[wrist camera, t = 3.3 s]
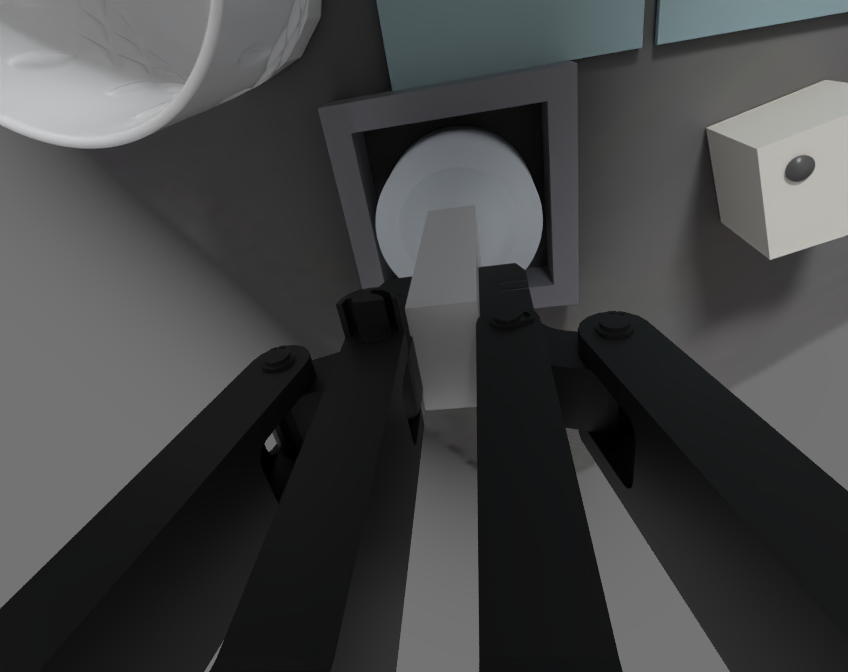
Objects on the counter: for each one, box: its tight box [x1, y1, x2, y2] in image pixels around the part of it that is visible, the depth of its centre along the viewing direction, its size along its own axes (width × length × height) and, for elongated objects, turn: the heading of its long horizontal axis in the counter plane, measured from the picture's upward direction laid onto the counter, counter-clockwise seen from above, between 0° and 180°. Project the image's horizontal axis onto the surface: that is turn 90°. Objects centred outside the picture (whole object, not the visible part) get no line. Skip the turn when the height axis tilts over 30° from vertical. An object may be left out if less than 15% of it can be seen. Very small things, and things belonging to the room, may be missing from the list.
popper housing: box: [318, 61, 579, 308], centre depth 20 cm, size 9×9×2 cm
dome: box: [376, 125, 543, 278], centre depth 19 cm, size 6×6×5 cm
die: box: [706, 80, 848, 260], centre depth 18 cm, size 4×4×4 cm
